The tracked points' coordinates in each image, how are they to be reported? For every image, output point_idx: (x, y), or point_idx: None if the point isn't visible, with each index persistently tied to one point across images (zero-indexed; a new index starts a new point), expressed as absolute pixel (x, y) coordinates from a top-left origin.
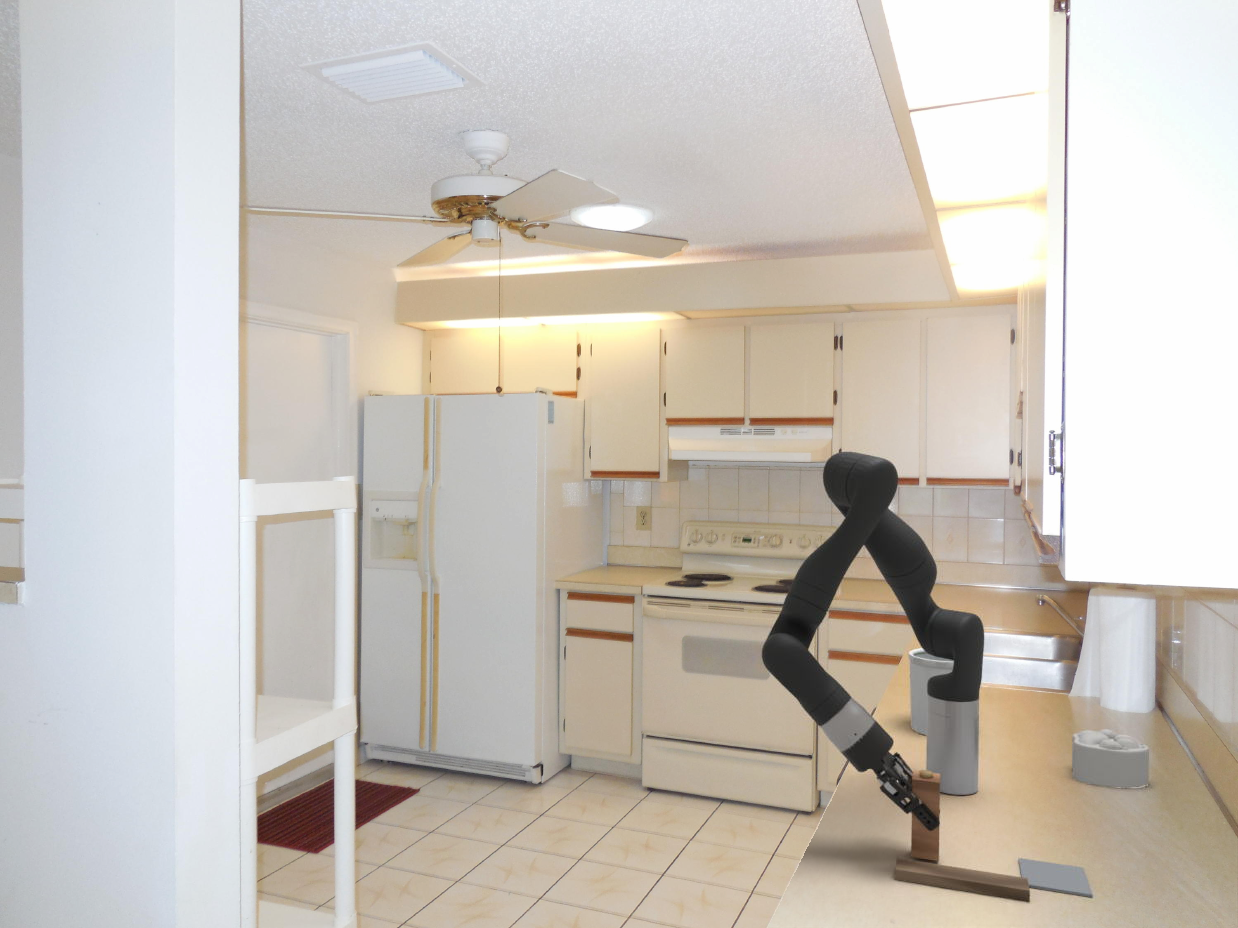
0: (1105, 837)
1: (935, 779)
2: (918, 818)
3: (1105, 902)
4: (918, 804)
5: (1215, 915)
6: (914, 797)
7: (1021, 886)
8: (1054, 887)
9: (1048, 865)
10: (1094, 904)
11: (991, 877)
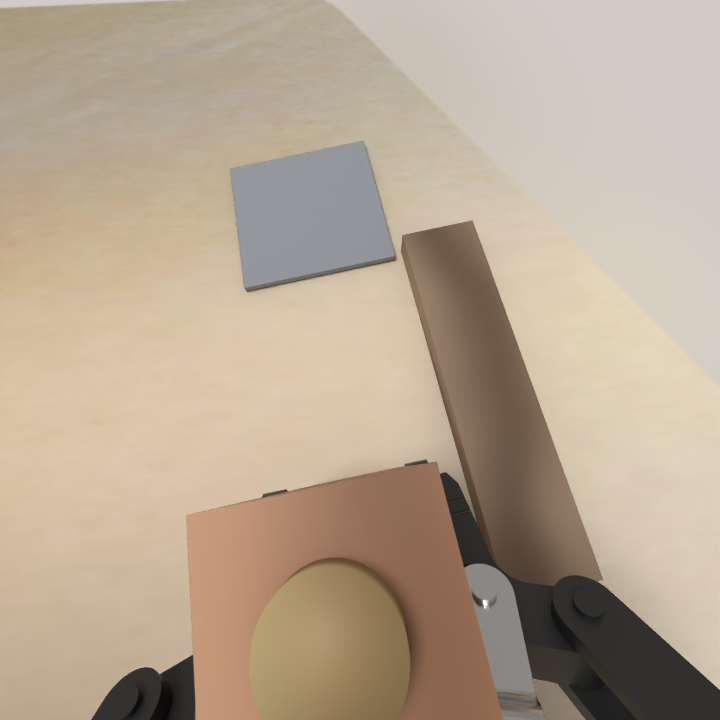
0: (25, 160)
1: (377, 520)
2: None
3: (373, 127)
4: (590, 581)
5: (319, 6)
6: (585, 638)
7: (461, 238)
8: (374, 200)
9: (256, 226)
10: (395, 140)
11: (454, 306)
